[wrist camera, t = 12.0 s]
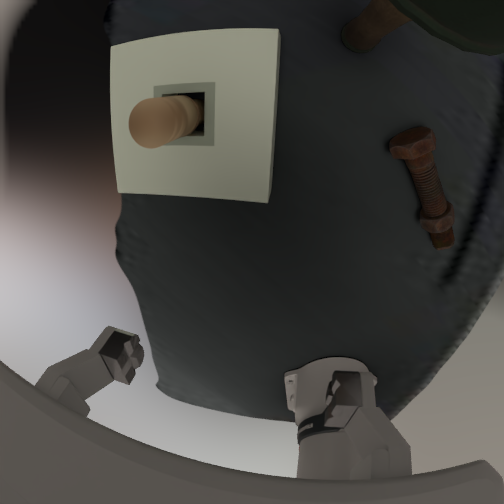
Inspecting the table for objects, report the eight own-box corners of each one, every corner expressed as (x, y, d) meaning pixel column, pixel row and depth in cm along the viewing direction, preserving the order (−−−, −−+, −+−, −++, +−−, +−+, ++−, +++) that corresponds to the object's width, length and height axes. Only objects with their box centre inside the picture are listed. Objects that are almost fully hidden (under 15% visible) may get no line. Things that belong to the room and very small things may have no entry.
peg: (214, 130, 30) (175, 148, 20) (179, 130, 30) (129, 149, 21) (215, 93, 27) (174, 95, 18) (179, 94, 28) (127, 100, 19)
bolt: (429, 232, 34) (393, 132, 28) (461, 228, 30) (431, 122, 24) (424, 261, 31) (385, 151, 25) (460, 258, 27) (430, 140, 21)
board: (271, 190, 33) (267, 203, 29) (134, 182, 34) (117, 193, 31) (281, 37, 23) (278, 28, 20) (129, 48, 25) (110, 46, 21)
